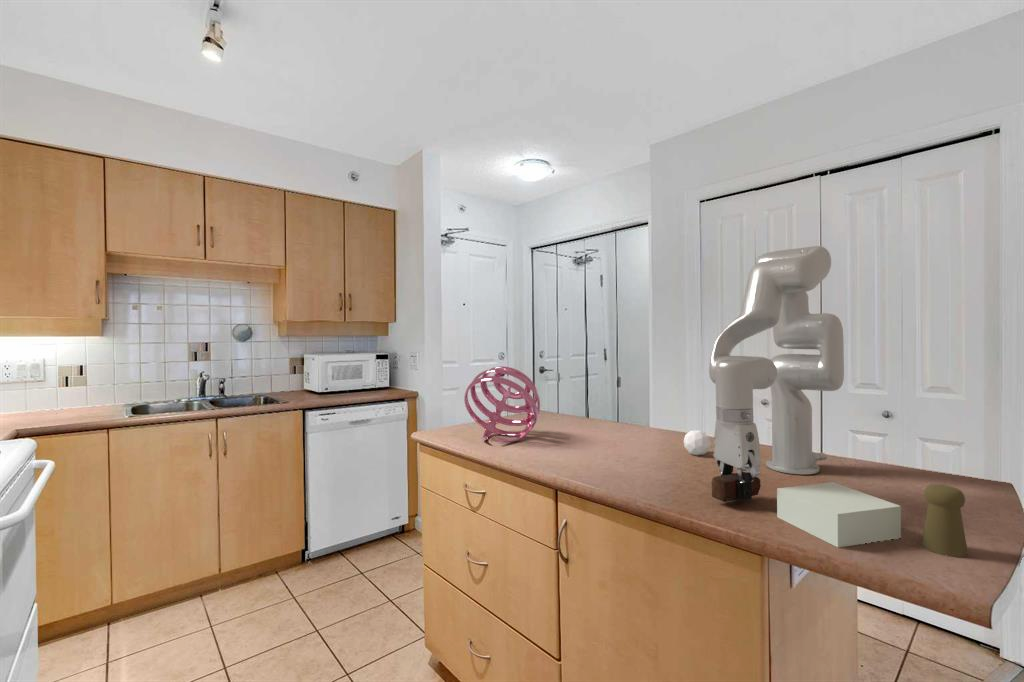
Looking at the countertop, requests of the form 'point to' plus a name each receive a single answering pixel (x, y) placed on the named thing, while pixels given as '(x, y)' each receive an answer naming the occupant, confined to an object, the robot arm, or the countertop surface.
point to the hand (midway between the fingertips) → (736, 494)
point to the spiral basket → (504, 402)
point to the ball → (697, 442)
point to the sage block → (839, 514)
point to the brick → (730, 487)
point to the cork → (944, 521)
